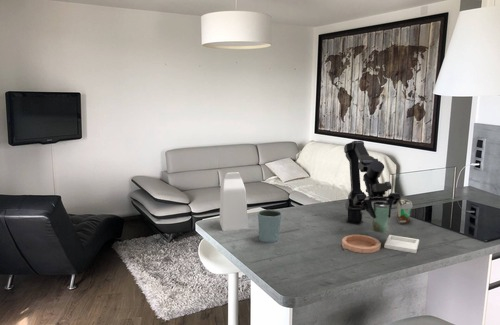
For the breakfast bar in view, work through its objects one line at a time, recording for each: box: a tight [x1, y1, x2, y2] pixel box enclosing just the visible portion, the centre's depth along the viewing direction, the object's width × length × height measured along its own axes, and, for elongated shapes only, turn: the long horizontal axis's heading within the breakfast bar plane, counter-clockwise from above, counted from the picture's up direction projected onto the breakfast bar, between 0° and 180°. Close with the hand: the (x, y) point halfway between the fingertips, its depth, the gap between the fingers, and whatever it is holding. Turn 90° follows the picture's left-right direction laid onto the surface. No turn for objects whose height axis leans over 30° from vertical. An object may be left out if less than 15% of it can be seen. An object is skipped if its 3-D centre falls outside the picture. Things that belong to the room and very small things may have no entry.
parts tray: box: [384, 234, 420, 254], centre depth 165 cm, size 12×12×2 cm
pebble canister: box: [371, 201, 390, 233], centre depth 162 cm, size 6×6×11 cm
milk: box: [219, 171, 249, 232], centre depth 189 cm, size 12×12×26 cm
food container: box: [396, 198, 414, 225], centre depth 197 cm, size 12×6×10 cm, turn 168°
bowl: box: [341, 234, 382, 254], centre depth 165 cm, size 15×15×3 cm
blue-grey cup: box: [257, 209, 282, 244], centre depth 173 cm, size 10×10×12 cm
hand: (382, 217), depth 161 cm, fingers closed on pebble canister, 6 cm apart
